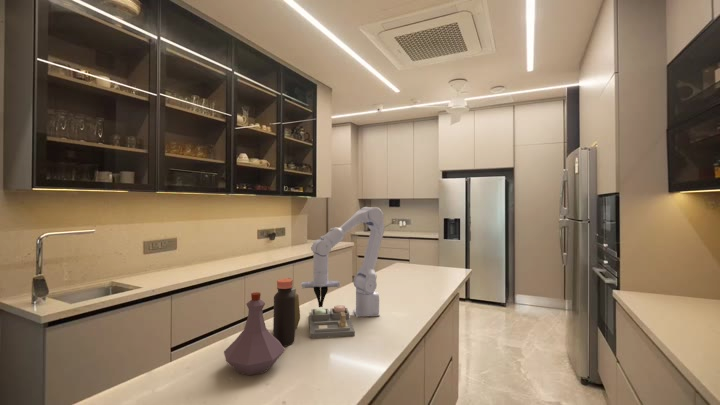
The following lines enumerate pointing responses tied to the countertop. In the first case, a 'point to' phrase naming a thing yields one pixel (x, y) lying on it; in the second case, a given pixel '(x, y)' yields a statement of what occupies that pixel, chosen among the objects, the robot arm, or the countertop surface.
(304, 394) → the countertop surface
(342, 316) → the tan wooden step block
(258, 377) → the countertop surface
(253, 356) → the flask
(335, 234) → the robot arm
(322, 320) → the panel
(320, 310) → the mint button
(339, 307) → the pink button
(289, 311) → the vinegar
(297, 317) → the squeeze bottle
